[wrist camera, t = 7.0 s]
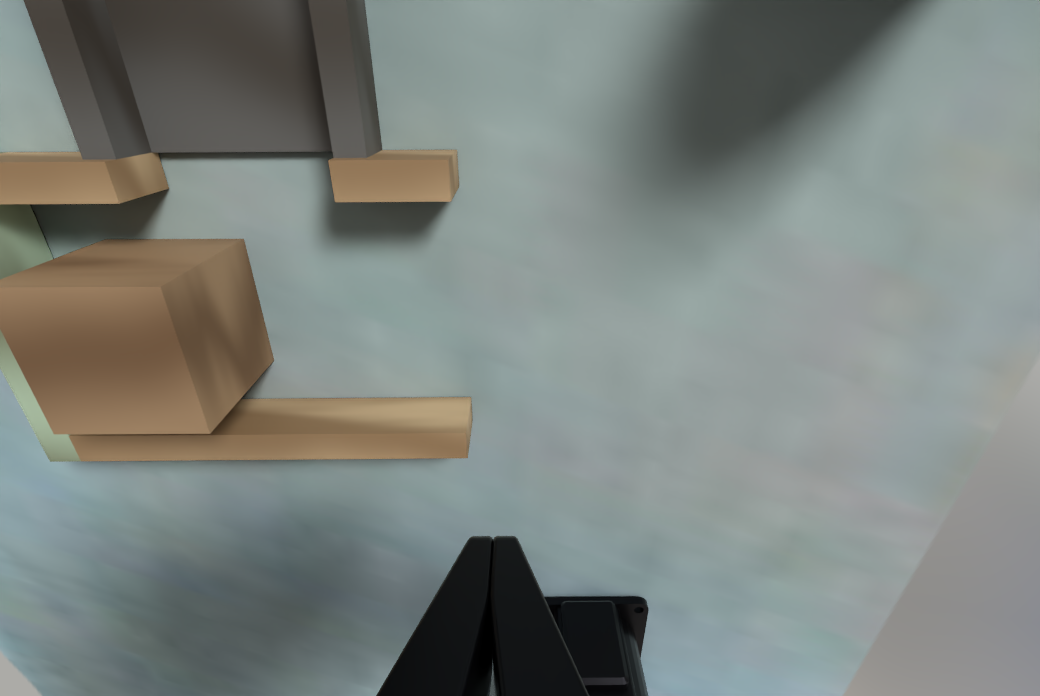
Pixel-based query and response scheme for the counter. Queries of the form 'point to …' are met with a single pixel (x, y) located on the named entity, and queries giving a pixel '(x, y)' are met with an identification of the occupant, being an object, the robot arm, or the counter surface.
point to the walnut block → (138, 335)
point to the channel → (222, 128)
